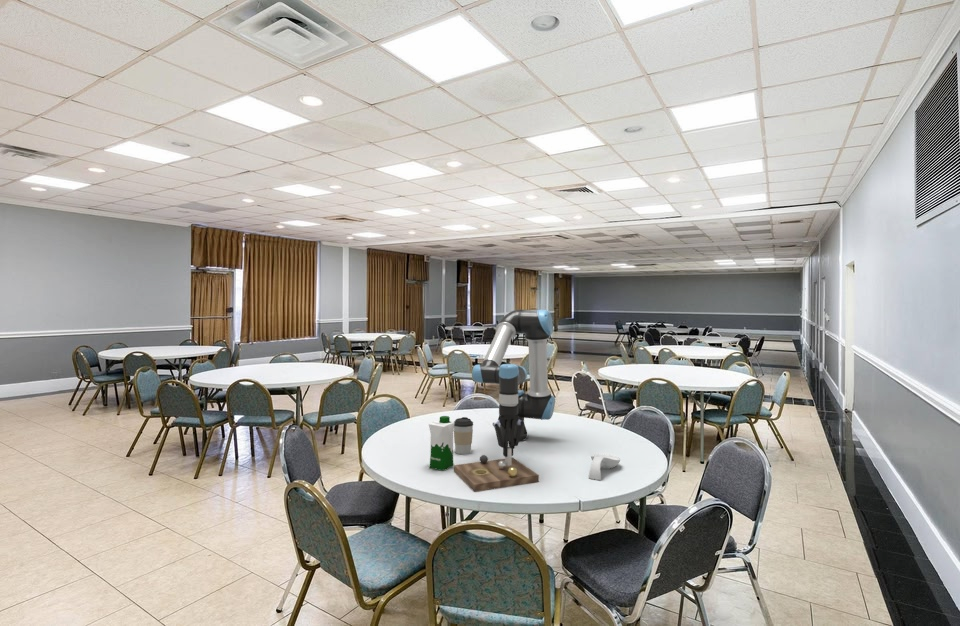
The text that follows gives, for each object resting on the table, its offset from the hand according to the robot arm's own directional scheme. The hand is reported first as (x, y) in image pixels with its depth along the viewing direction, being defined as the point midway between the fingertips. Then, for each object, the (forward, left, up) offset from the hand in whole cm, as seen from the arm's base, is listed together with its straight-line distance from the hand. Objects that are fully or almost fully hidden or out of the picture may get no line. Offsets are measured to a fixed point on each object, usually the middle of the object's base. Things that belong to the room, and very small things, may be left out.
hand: (508, 464), depth 187 cm
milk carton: (+21, -18, -4) cm, 28 cm away
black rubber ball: (+6, -9, 0) cm, 11 cm away
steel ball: (+3, 0, 0) cm, 3 cm away
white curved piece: (-37, +9, -5) cm, 39 cm away
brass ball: (+2, +9, 0) cm, 9 cm away
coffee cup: (+6, -33, -4) cm, 34 cm away
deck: (+5, 0, -4) cm, 7 cm away
